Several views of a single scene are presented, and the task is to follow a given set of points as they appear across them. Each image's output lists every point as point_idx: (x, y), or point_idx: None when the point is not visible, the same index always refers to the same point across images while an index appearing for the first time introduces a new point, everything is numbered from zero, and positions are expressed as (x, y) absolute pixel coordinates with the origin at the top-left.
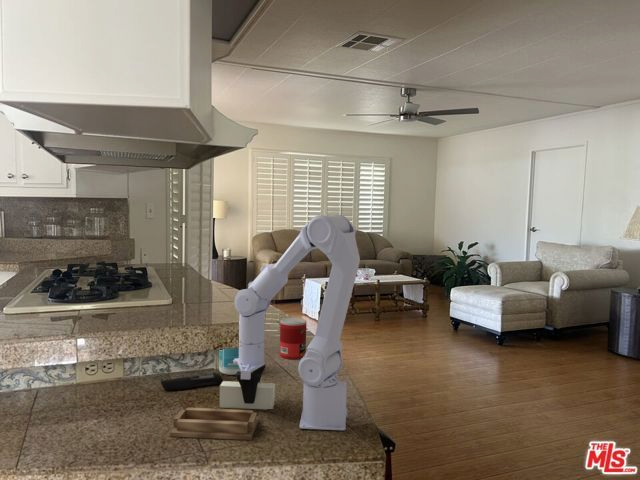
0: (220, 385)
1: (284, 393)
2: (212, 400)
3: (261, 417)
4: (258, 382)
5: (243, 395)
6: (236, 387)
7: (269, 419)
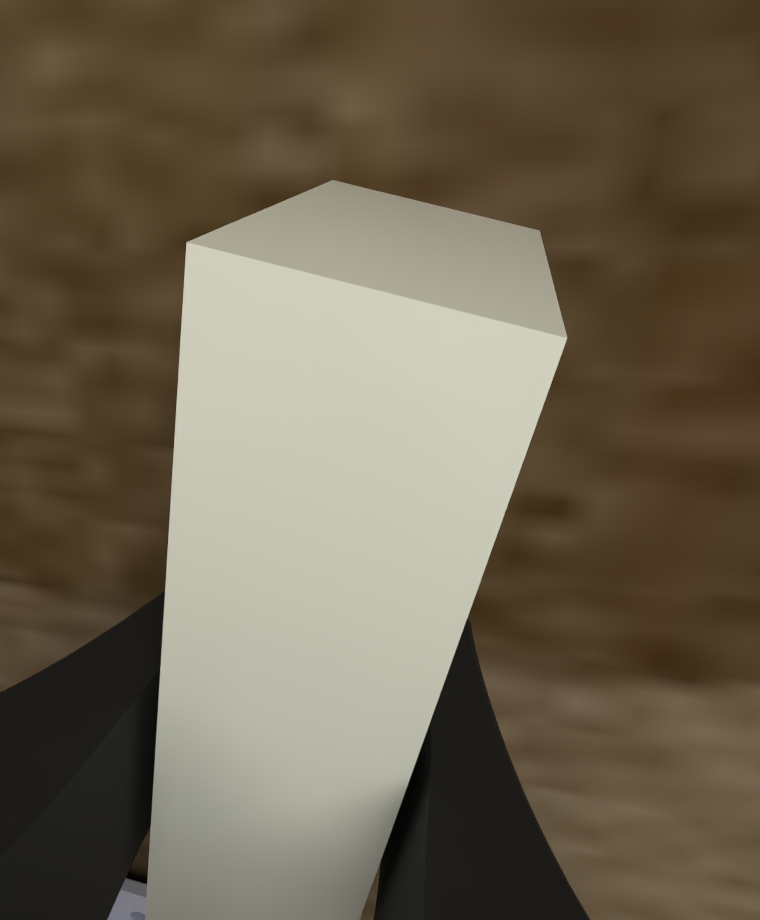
0: (208, 260)
1: (648, 897)
2: (671, 28)
3: (62, 624)
4: (376, 915)
5: (147, 608)
6: (174, 593)
7: (31, 673)
